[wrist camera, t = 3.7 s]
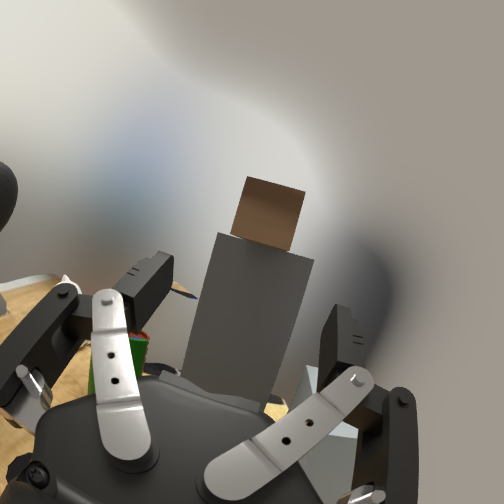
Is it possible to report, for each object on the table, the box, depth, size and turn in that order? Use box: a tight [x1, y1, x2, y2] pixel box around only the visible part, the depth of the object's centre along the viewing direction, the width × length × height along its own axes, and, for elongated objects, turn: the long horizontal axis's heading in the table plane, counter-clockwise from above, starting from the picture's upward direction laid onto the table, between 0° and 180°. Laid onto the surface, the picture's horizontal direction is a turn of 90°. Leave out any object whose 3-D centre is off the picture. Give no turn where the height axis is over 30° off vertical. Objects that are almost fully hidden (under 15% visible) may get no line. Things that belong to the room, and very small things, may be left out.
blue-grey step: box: [287, 365, 358, 504], centre depth 21 cm, size 12×7×22 cm, turn 175°
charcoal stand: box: [180, 233, 314, 412], centre depth 32 cm, size 12×9×32 cm
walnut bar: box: [230, 176, 305, 252], centre depth 29 cm, size 24×4×4 cm, turn 175°
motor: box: [88, 330, 150, 395], centre depth 39 cm, size 10×9×20 cm
